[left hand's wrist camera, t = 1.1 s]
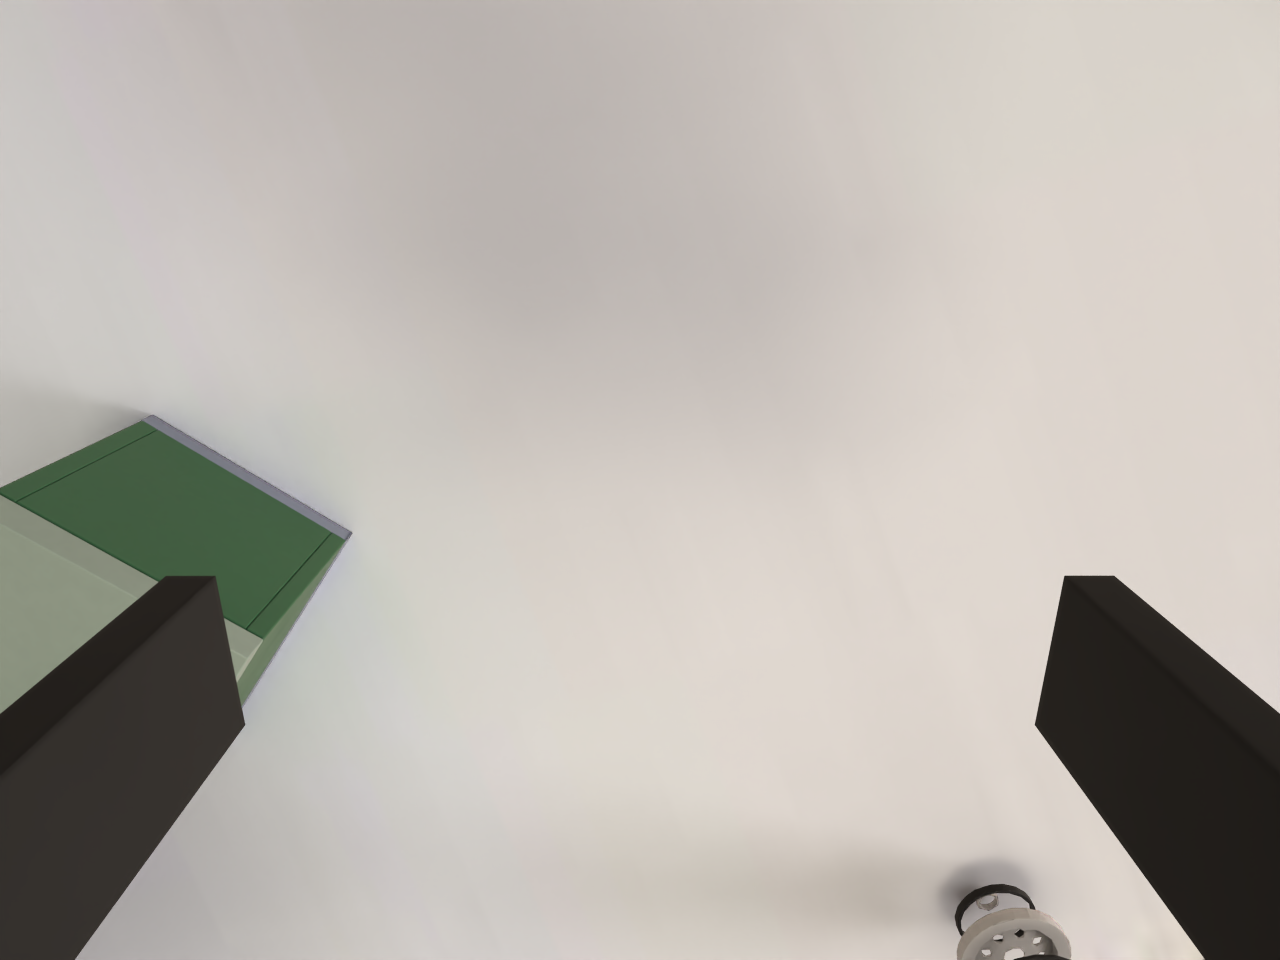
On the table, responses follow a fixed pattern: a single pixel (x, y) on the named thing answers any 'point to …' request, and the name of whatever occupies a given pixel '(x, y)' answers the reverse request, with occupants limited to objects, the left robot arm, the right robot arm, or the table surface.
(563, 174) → the table surface
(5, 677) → the lid
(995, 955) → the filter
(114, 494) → the chest
